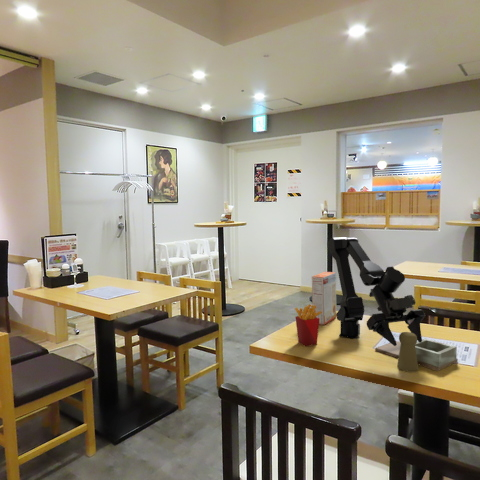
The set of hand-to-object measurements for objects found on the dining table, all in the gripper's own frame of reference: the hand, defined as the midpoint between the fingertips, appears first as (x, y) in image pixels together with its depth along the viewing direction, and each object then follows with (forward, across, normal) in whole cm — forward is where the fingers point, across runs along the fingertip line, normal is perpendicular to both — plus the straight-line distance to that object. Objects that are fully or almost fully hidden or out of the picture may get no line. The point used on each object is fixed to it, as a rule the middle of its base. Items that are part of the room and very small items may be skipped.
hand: (408, 343), depth 122 cm
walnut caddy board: (0, +9, +11) cm, 14 cm away
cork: (+5, 0, +6) cm, 8 cm away
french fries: (-16, -18, +26) cm, 36 cm away
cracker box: (-34, +1, +45) cm, 56 cm away
